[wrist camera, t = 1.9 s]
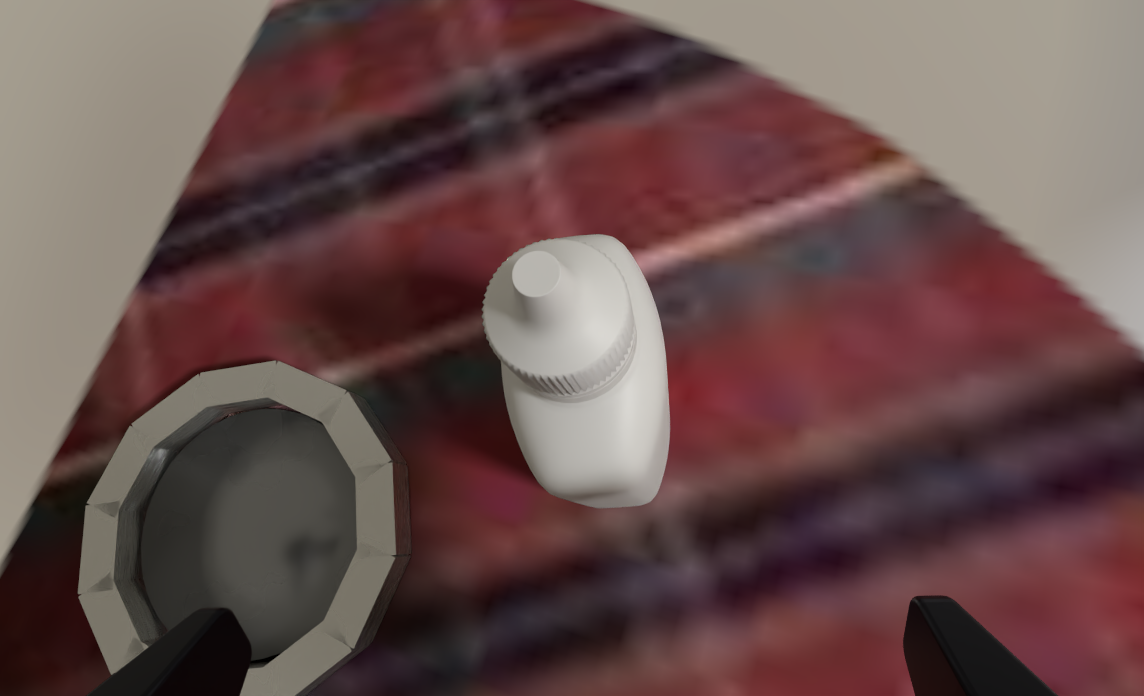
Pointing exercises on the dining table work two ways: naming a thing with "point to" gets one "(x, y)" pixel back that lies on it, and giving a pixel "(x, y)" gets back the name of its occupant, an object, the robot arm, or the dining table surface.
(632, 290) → the eye dropper bottle
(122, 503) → the collar
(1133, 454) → the dining table surface
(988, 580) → the dining table surface
